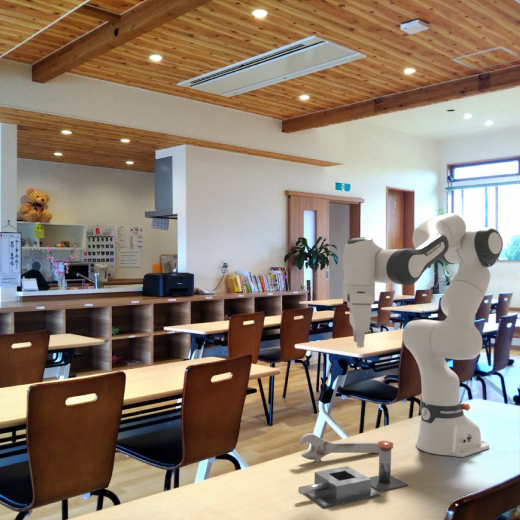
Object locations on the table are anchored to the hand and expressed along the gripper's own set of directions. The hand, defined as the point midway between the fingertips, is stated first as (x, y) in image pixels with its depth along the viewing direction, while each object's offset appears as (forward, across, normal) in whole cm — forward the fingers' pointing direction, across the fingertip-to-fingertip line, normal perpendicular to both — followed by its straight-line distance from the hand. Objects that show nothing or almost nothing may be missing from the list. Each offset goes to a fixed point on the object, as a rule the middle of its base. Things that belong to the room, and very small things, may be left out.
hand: (358, 344), depth 162 cm
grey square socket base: (+34, +19, -8) cm, 40 cm away
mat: (+34, +12, +6) cm, 36 cm away
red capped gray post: (+34, +12, +6) cm, 36 cm away
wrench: (+34, -7, -3) cm, 35 cm away
